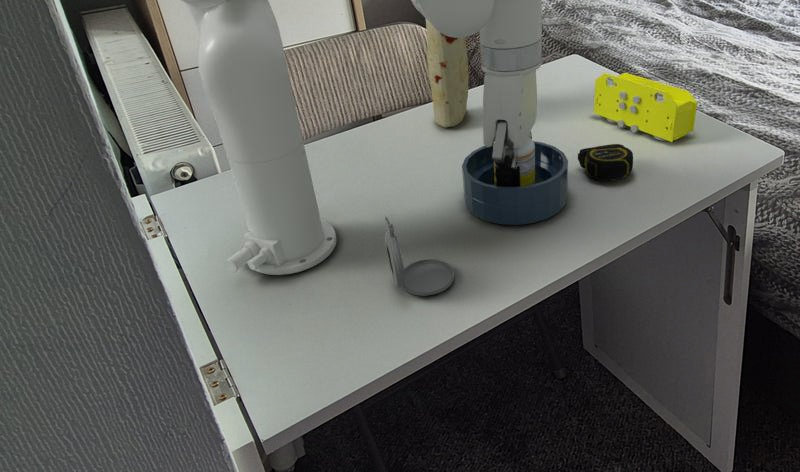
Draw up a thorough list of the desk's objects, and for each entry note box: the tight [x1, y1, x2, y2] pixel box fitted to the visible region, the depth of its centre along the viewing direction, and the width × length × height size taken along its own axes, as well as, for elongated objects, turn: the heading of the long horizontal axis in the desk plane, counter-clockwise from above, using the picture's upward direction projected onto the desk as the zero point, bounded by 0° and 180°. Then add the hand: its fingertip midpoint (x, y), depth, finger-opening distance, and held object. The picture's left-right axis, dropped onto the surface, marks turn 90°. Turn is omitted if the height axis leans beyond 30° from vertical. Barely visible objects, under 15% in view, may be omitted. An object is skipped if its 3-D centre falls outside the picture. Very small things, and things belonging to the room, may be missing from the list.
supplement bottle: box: [493, 134, 535, 186], centre depth 89 cm, size 6×6×10 cm
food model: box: [425, 18, 469, 129], centre depth 113 cm, size 10×7×20 cm
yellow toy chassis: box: [593, 72, 698, 143], centre depth 105 cm, size 16×6×8 cm, turn 32°
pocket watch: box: [384, 216, 455, 297], centre depth 77 cm, size 8×8×10 cm
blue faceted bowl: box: [461, 140, 569, 226], centre depth 91 cm, size 14×14×6 cm
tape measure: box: [577, 143, 634, 181], centre depth 95 cm, size 7×7×4 cm
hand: (514, 179), depth 91 cm, fingers closed on supplement bottle, 5 cm apart
